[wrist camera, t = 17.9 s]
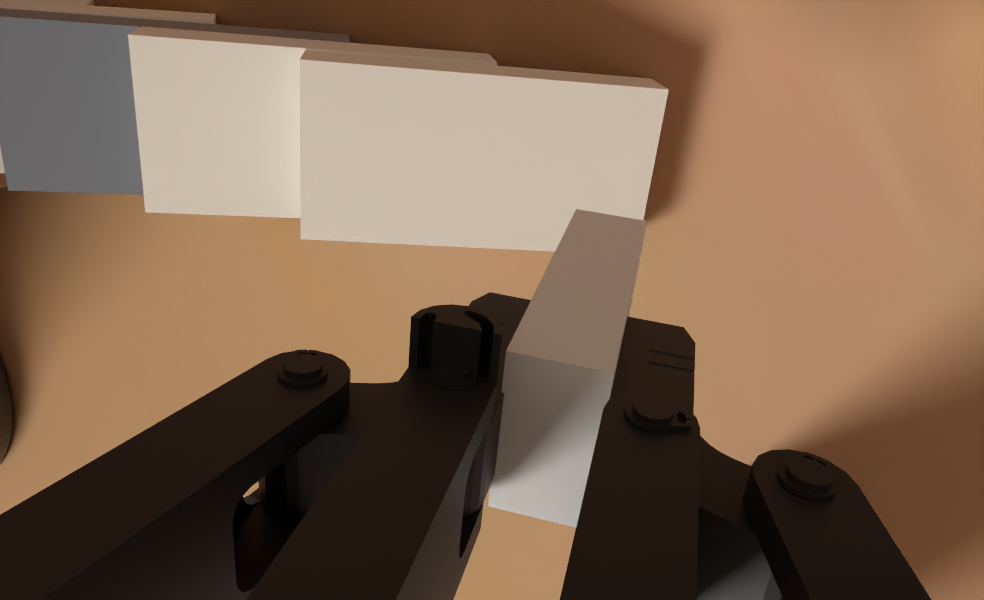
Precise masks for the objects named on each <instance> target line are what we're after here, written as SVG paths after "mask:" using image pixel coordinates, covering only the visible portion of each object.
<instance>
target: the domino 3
mask: <svg viewBox="0 0 984 600" xmlns="http://www.w3.org/2000/svg"><path fill="white" fill-rule="evenodd" d="M668 91H669V89H667V88H666V87H664V86H662V85H661V84H659V83H658V82H656V81H655V80H653V79H651V78H639V77H627V76H615V75H603V74H591V73H579V72H567V71H556V70H544V69H532V68H520V67H508V66H496V65H484V64H472V63H460V62H448V61H436V60H424V59H412V58H400V57H388V56H376V55H364V54H352V53H340V52H328V51H316V50H305V51H304V53H303V55H302V56H301V58H300V193H301V239H309V240H330V241H350V242H371V243H391V244H412V245H432V246H453V247H474V248H494V249H515V250H535V251H556V249H557V247H558V245H559V243H560V241H561V239H562V237H563V235H564V233H565V231H566V229H567V227H568V225H569V223H570V220H571V218H572V216H573V214H574V212H575V210H576V209H579V210H585V211H591V212H597V213H603V214H609V215H615V216H621V217H627V218H633V219H639V220H643V219H644V214H645V209H646V204H647V199H648V194H649V189H650V184H651V178H652V173H653V168H654V163H655V158H656V153H657V148H658V143H659V137H660V132H661V127H662V122H663V117H664V112H665V107H666V101H667V96H668Z"/></svg>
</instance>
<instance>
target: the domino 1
mask: <svg viewBox="0 0 984 600" xmlns="http://www.w3.org/2000/svg"><path fill="white" fill-rule="evenodd" d="M142 26H144V27H157V28H169V29H182V30H195V31H207V32H220V33H233V34H245V35H258V36H271V37H283V38H296V39H309V40H322V41H334V42H347V43H350V38H349V34H338V33H324V32H311V31H298V30H285V29H271V28H258V27H245V26H232V25H219V24H205V23H192V22H179V21H166V20H153V19H139V18H126V17H113V16H100V15H86V14H73V13H60V12H47V11H34V10H20V9H7V8H0V147H1V153H2V159H3V164H4V170H5V176H6V181H7V187H8V191H41V192H75V193H108V194H142V195H144V193H143V183H142V173H141V163H140V153H139V142H138V132H137V122H136V112H135V102H134V92H133V81H132V71H131V61H130V51H129V41H128V34H130V33H132V32H133V31H135V30H137V29H139V28H140V27H142Z"/></svg>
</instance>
